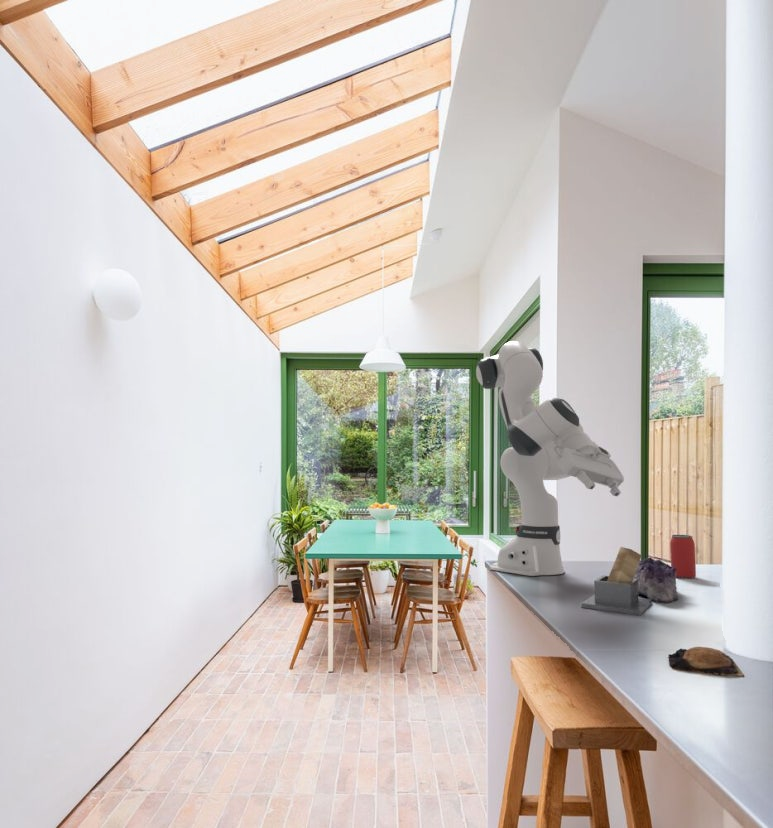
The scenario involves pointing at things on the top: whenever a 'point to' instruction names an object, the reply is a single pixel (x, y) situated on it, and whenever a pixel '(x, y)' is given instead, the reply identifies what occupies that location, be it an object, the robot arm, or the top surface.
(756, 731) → the top surface
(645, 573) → the geode
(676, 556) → the beer can
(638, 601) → the grey open box
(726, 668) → the brown domed piece
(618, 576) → the wooden block
